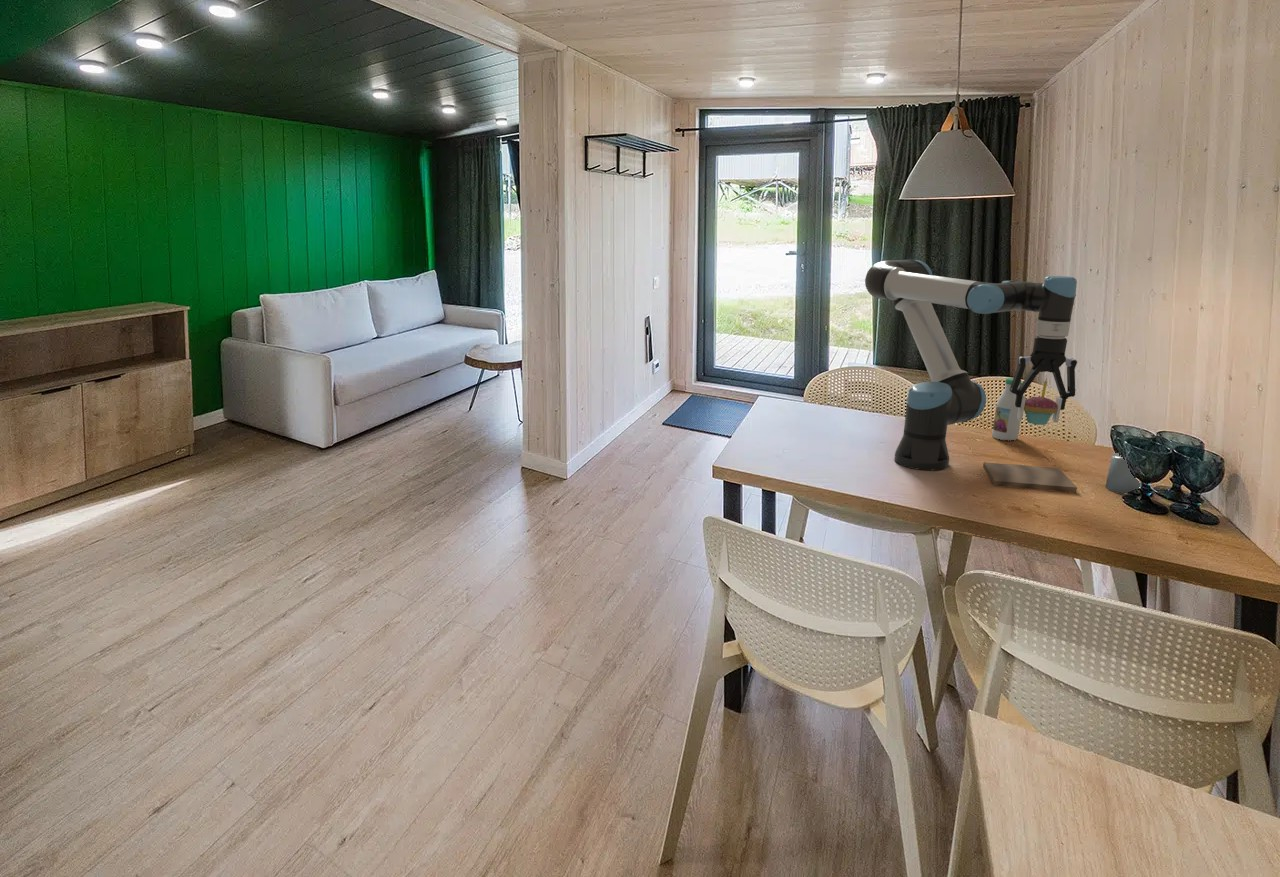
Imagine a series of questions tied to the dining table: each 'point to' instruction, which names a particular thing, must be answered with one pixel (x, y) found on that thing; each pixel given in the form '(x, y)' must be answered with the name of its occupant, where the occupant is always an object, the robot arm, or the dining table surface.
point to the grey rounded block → (1120, 476)
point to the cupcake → (1040, 408)
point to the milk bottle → (1006, 415)
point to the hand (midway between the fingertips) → (1037, 419)
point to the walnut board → (1029, 477)
